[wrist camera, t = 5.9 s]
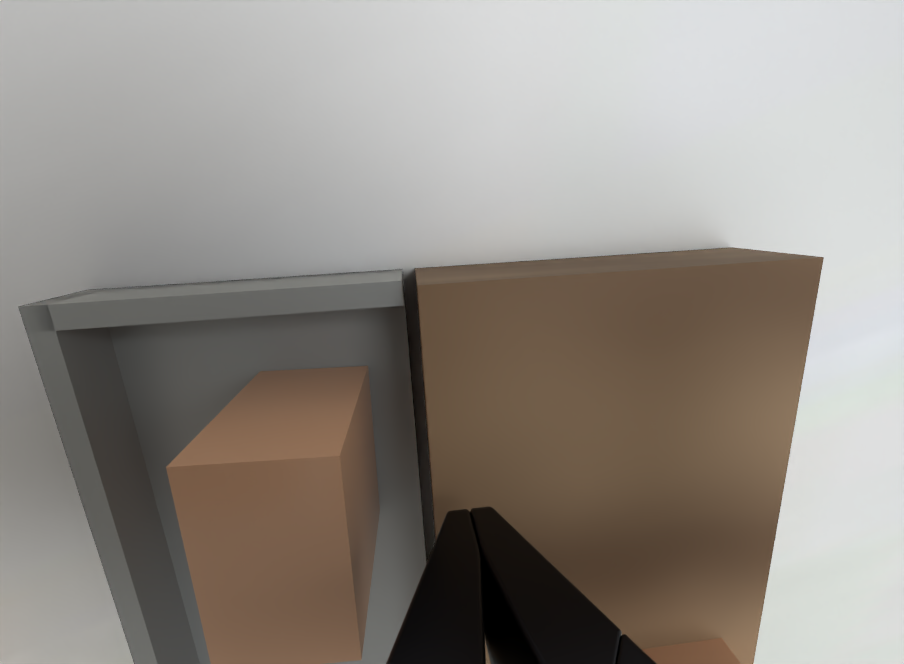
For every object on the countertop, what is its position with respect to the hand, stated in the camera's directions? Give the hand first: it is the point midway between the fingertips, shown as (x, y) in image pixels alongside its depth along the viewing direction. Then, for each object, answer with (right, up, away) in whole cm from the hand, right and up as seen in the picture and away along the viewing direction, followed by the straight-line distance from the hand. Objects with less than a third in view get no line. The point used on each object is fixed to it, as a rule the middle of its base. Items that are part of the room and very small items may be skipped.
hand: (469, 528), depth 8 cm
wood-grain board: (+3, -2, +4) cm, 6 cm away
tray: (-5, -2, +4) cm, 6 cm away
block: (-2, 0, +1) cm, 2 cm away
